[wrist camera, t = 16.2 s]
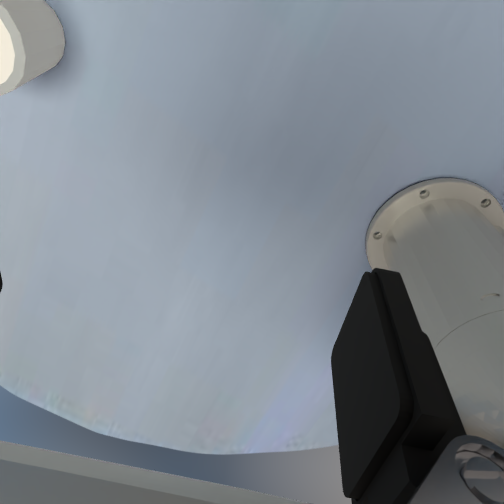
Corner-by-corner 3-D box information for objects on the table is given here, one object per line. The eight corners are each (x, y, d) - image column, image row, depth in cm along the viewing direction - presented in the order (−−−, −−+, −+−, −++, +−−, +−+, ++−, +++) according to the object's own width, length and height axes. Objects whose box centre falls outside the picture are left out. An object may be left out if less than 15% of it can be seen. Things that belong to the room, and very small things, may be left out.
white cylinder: (-33, 14, 31) (-108, 19, 25) (25, -42, 29) (-42, -51, 23) (33, 94, 34) (-20, 116, 28) (90, 49, 32) (46, 63, 26)
